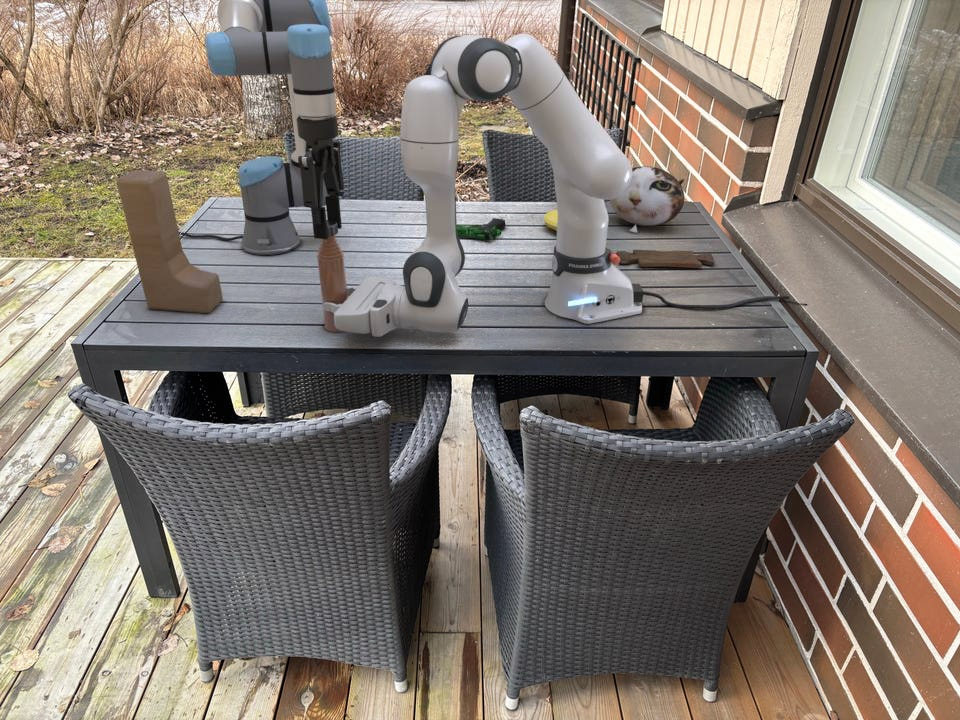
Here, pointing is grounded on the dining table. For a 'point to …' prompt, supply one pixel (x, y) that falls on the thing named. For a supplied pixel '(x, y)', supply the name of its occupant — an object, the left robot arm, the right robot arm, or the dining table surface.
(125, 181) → the decorative block
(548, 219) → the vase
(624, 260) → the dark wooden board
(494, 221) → the handgun
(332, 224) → the cap
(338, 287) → the bottle
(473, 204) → the dining table surface
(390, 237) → the dining table surface
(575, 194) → the right robot arm
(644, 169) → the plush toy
